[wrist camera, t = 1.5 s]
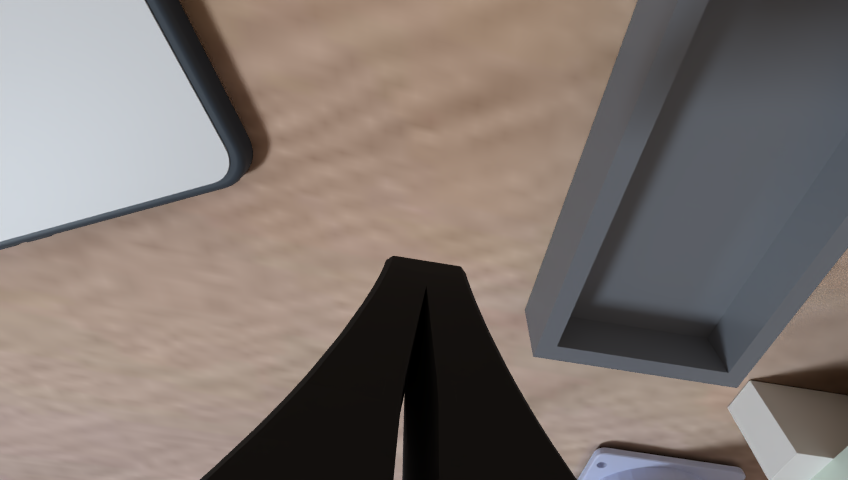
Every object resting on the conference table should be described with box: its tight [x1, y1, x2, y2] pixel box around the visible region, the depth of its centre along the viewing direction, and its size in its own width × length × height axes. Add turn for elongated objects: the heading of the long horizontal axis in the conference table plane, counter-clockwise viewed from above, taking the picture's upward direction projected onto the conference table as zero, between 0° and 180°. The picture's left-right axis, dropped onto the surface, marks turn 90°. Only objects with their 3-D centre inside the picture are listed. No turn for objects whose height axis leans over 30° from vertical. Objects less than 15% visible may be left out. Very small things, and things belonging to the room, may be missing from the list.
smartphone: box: [0, 0, 253, 250], centre depth 16 cm, size 9×2×16 cm
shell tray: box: [525, 0, 848, 388], centre depth 15 cm, size 14×8×3 cm, turn 171°
